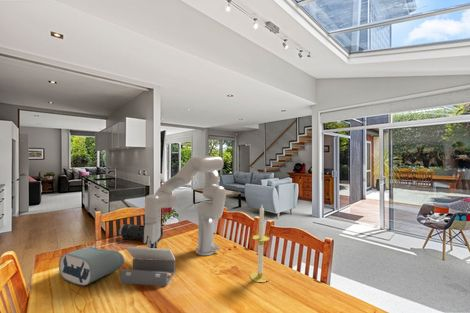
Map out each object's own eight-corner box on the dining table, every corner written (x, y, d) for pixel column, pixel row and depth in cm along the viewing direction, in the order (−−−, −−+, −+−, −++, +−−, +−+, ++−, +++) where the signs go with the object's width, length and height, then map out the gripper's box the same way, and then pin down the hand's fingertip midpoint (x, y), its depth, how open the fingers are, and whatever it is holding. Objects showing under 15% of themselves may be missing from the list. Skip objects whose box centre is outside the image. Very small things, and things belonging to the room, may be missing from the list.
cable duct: (174, 272, 118) (175, 260, 117) (165, 287, 105) (166, 274, 105) (133, 269, 119) (133, 258, 119) (119, 284, 106) (120, 271, 106)
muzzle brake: (156, 244, 152) (156, 229, 151) (118, 241, 156) (118, 226, 156) (163, 239, 161) (163, 224, 161) (126, 235, 165) (127, 221, 165)
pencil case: (58, 278, 109) (59, 251, 109) (95, 262, 127) (96, 239, 127) (89, 290, 101) (91, 261, 101) (124, 271, 119) (125, 246, 119)
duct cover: (175, 260, 117) (175, 259, 118) (169, 250, 109) (170, 249, 110) (133, 258, 119) (134, 256, 119) (125, 248, 110) (126, 246, 111)
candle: (254, 284, 109) (256, 206, 108) (247, 273, 118) (249, 202, 117) (273, 281, 111) (275, 205, 110) (265, 271, 121) (267, 201, 120)
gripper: (152, 214, 124) (153, 247, 125) (138, 224, 109) (138, 261, 110) (165, 215, 123) (166, 248, 124) (153, 224, 108) (153, 262, 109)
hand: (153, 254), depth 117 cm, fingers closed
